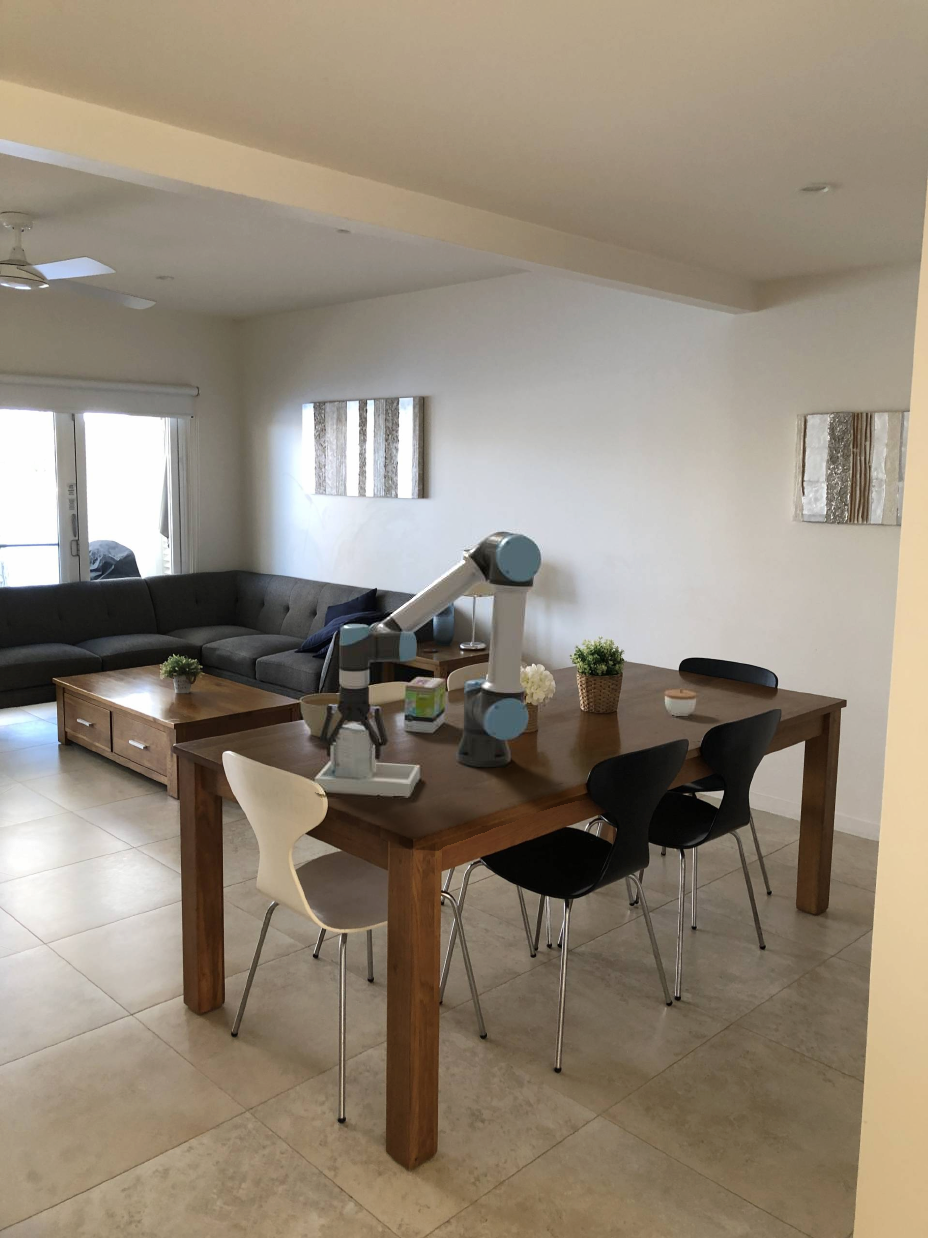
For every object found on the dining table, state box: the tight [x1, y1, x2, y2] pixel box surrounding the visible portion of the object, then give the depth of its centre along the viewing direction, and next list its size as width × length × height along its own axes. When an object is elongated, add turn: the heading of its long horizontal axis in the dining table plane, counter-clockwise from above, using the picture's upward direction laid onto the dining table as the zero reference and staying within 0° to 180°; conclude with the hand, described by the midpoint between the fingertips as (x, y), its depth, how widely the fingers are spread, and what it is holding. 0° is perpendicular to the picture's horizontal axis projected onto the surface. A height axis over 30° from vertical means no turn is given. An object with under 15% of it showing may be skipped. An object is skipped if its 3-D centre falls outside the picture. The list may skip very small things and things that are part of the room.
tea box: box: [403, 676, 447, 734], centre depth 312 cm, size 15×10×15 cm, turn 168°
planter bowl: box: [299, 692, 349, 738], centre depth 300 cm, size 16×16×11 cm
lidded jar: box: [664, 687, 698, 717], centre depth 336 cm, size 11×11×9 cm
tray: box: [314, 759, 421, 798], centre depth 253 cm, size 24×16×4 cm, turn 83°
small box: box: [334, 723, 374, 780], centre depth 253 cm, size 8×6×13 cm
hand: (353, 769), depth 253 cm, fingers open, 10 cm apart
